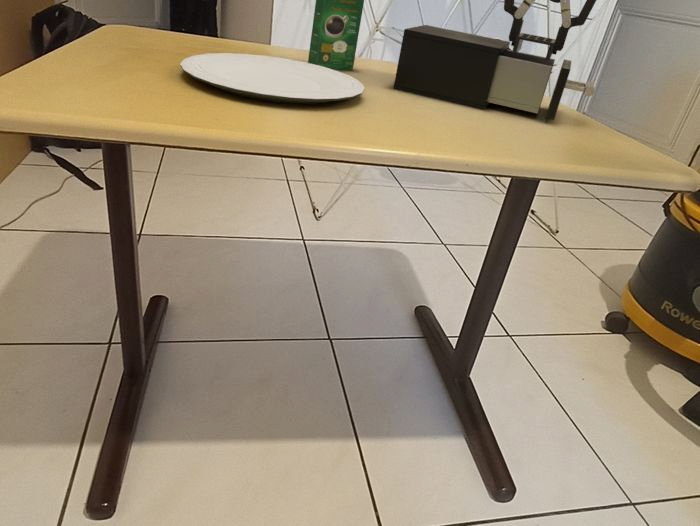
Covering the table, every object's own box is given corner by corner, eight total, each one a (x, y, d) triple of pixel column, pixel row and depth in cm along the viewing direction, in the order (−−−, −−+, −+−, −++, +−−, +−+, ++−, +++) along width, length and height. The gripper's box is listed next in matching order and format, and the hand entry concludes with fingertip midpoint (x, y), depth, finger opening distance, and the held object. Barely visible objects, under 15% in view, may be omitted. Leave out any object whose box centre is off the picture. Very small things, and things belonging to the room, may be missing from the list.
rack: (551, 55, 88) (556, 39, 87) (549, 60, 81) (554, 43, 80) (516, 48, 90) (521, 32, 88) (511, 52, 83) (516, 35, 82)
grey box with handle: (583, 112, 92) (599, 66, 88) (583, 127, 81) (601, 76, 78) (477, 88, 96) (488, 43, 93) (464, 99, 86) (477, 50, 82)
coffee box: (345, 68, 99) (356, -14, 92) (354, 72, 97) (367, -12, 90) (306, 67, 94) (315, -20, 88) (315, 71, 92) (325, -17, 86)
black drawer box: (495, 97, 96) (510, 41, 92) (483, 111, 85) (500, 48, 81) (414, 79, 100) (425, 24, 95) (392, 90, 88) (404, 28, 84)
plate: (385, 119, 71) (388, 105, 70) (180, 102, 64) (180, 85, 63) (339, 75, 92) (340, 63, 91) (180, 58, 84) (180, 45, 83)
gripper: (516, -90, 76) (483, 42, 84) (627, -74, 72) (582, 61, 80) (521, -83, 82) (490, 39, 90) (623, -69, 79) (582, 57, 87)
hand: (533, 49), depth 85 cm, fingers closed on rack, 5 cm apart
